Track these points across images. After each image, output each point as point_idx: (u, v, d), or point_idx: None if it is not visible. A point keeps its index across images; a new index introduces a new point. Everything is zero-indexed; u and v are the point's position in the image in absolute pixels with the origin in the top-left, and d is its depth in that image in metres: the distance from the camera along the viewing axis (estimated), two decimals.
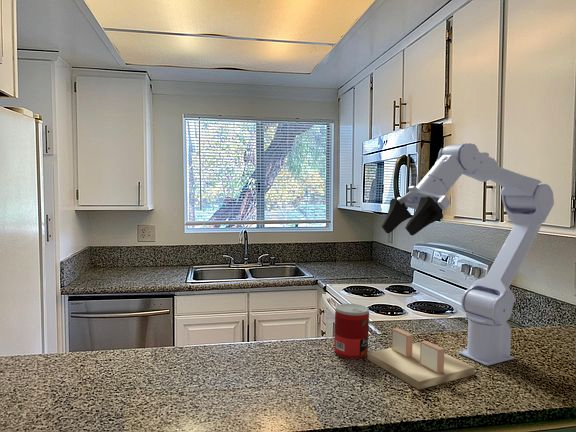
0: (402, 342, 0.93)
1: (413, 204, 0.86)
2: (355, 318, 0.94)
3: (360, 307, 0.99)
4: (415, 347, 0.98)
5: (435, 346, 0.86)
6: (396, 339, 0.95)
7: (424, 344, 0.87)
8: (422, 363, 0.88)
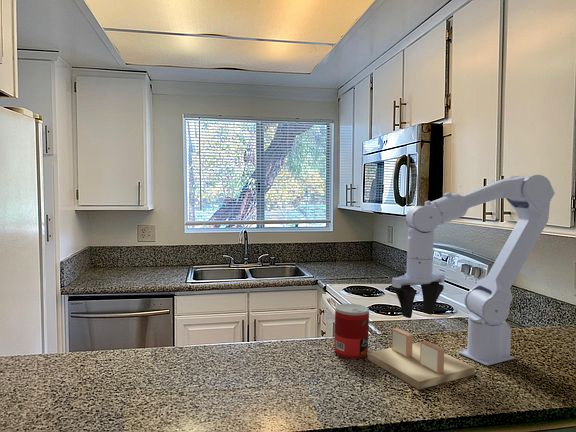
0: (402, 342, 0.93)
1: None
2: (355, 318, 0.94)
3: (360, 307, 0.99)
4: (415, 347, 0.98)
5: (435, 346, 0.86)
6: (396, 339, 0.95)
7: (424, 344, 0.87)
8: (422, 363, 0.88)
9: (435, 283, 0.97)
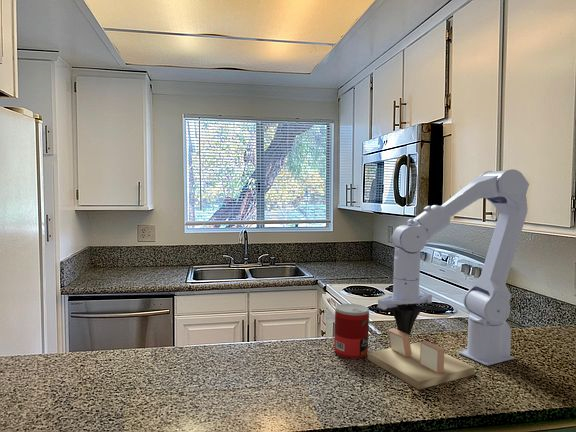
0: (399, 343, 0.93)
1: None
2: (355, 318, 0.94)
3: (360, 307, 0.99)
4: (415, 347, 0.98)
5: (435, 346, 0.86)
6: (393, 340, 0.95)
7: (424, 344, 0.87)
8: (422, 363, 0.88)
9: None
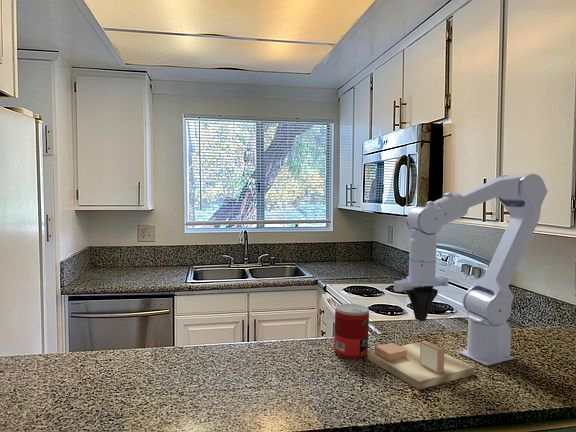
0: None
1: None
2: (355, 318, 0.94)
3: (360, 307, 0.99)
4: (415, 347, 0.98)
5: (435, 346, 0.86)
6: None
7: (424, 344, 0.87)
8: (422, 363, 0.88)
9: None
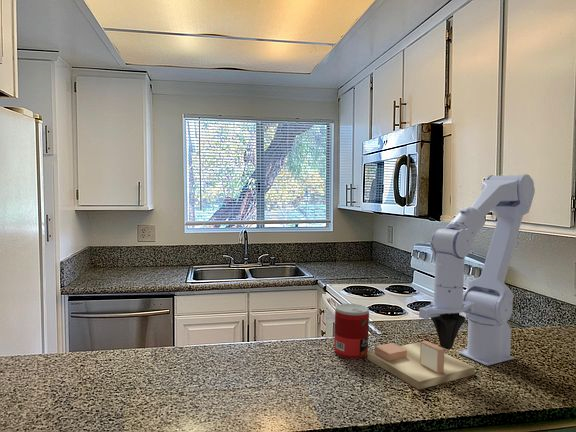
0: None
1: None
2: (355, 318, 0.94)
3: (360, 307, 0.99)
4: (415, 347, 0.98)
5: (435, 346, 0.86)
6: None
7: (424, 344, 0.87)
8: (422, 363, 0.88)
9: (465, 312, 0.89)
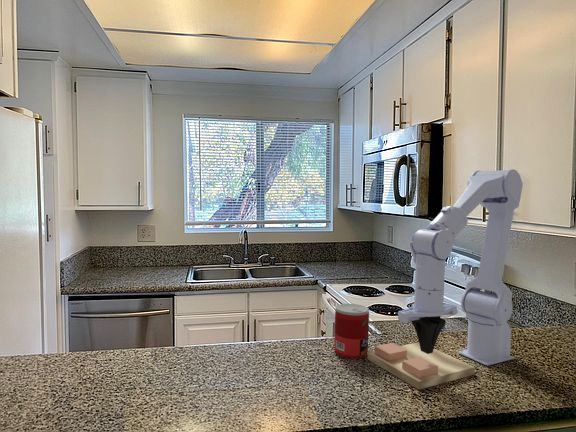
0: None
1: None
2: (355, 318, 0.94)
3: (360, 307, 0.99)
4: (415, 347, 0.98)
5: (413, 370, 0.83)
6: None
7: None
8: None
9: None
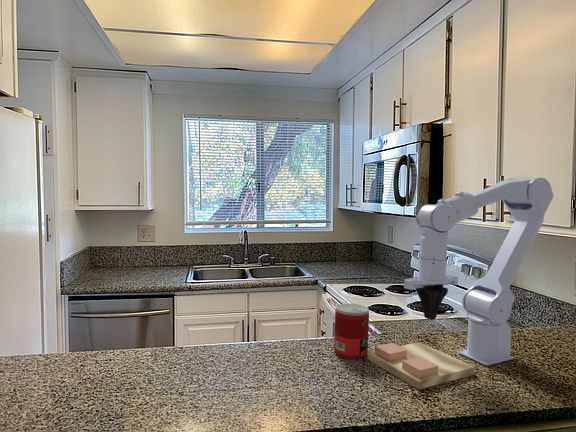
0: None
1: None
2: (355, 318, 0.94)
3: (360, 307, 0.99)
4: (415, 347, 0.98)
5: (413, 370, 0.83)
6: None
7: None
8: None
9: None
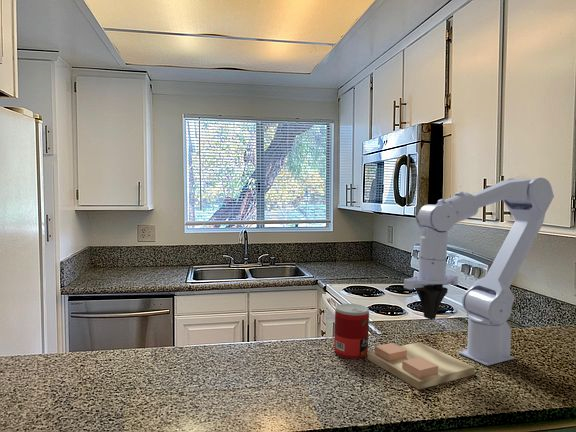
0: None
1: None
2: (355, 318, 0.94)
3: (360, 307, 0.99)
4: (415, 347, 0.98)
5: (413, 370, 0.83)
6: None
7: None
8: None
9: None
